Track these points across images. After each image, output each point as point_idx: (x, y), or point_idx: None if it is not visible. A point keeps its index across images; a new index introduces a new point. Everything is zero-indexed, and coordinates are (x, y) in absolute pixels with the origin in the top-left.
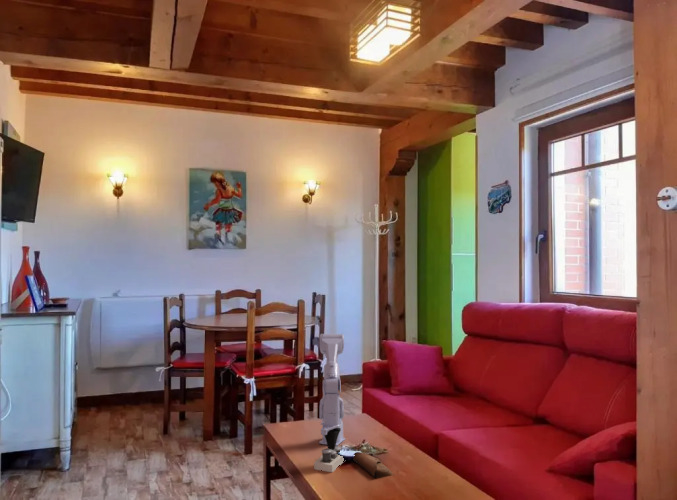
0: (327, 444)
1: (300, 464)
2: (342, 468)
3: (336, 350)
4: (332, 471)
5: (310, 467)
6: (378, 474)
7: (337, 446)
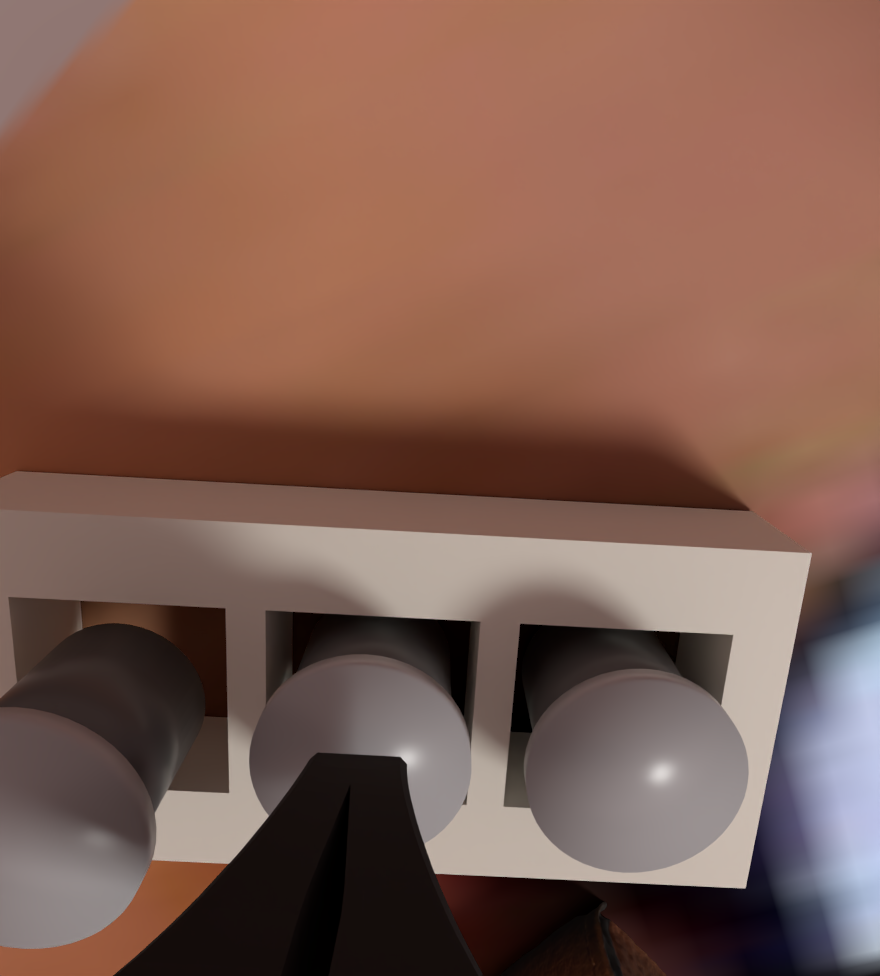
0: (268, 820)
1: (117, 125)
2: None
3: None
4: None
5: (71, 375)
6: None
7: (745, 773)
